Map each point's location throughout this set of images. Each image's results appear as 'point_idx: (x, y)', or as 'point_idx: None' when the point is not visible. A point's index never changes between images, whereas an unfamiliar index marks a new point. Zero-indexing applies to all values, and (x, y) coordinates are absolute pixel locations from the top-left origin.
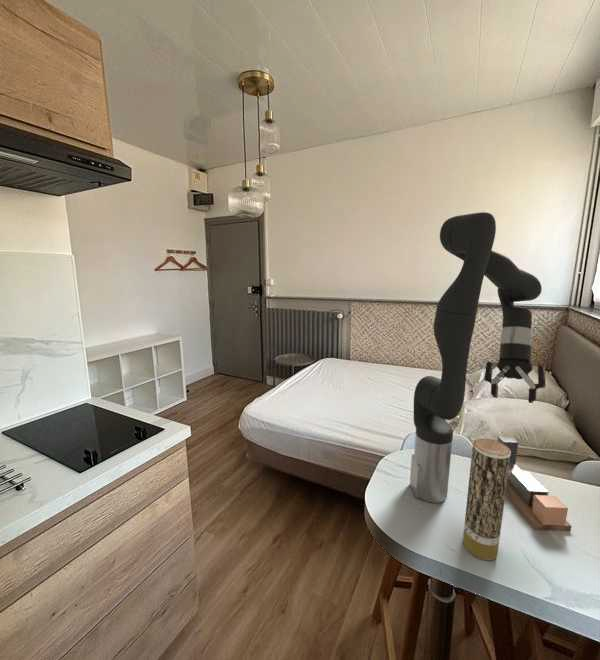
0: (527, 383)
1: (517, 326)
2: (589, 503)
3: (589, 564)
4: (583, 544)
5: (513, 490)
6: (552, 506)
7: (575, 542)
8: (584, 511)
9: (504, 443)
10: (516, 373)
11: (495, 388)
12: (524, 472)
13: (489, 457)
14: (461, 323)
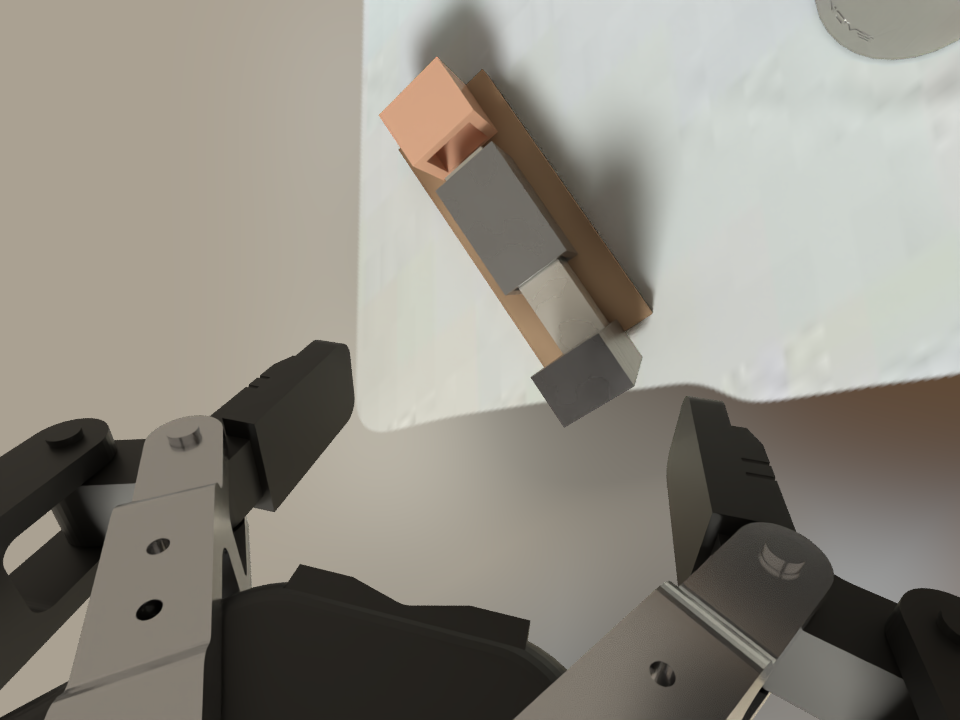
0: (219, 472)
1: None
2: (366, 349)
3: (372, 37)
4: None
5: (560, 226)
6: (418, 80)
7: None
8: (378, 293)
9: (596, 334)
10: (286, 688)
11: (712, 467)
12: (516, 280)
13: None
14: None
